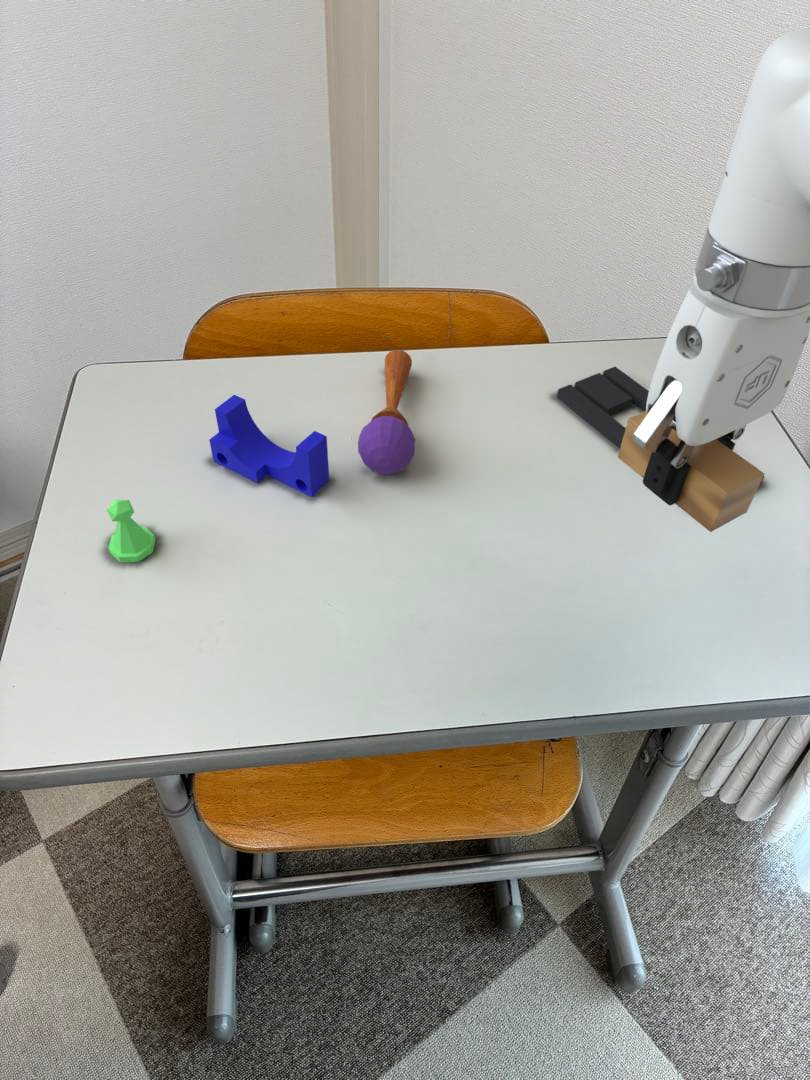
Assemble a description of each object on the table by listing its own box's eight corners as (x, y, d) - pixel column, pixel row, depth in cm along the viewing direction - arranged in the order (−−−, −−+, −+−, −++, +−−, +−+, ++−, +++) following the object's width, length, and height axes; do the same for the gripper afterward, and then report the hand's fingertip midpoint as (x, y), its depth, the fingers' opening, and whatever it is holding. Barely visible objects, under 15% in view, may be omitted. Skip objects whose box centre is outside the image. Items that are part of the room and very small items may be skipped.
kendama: (428, 346, 94) (419, 445, 79) (416, 388, 98) (406, 490, 83) (378, 334, 93) (360, 432, 78) (369, 377, 97) (350, 478, 82)
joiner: (746, 512, 61) (765, 473, 58) (710, 532, 59) (727, 493, 56) (652, 440, 67) (664, 401, 64) (617, 457, 65) (628, 418, 62)
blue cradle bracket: (213, 461, 85) (204, 416, 81) (241, 439, 88) (234, 394, 83) (302, 505, 81) (298, 461, 76) (329, 480, 83) (326, 436, 79)
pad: (678, 423, 91) (681, 414, 90) (620, 449, 88) (622, 441, 87) (613, 374, 98) (615, 366, 97) (556, 397, 94) (558, 388, 93)
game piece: (161, 554, 76) (147, 510, 71) (115, 569, 74) (98, 524, 70) (150, 525, 78) (136, 480, 74) (105, 538, 77) (89, 493, 73)
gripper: (714, 332, 44) (637, 554, 57) (895, 257, 51) (788, 472, 64) (619, 274, 48) (568, 493, 62) (798, 212, 55) (717, 422, 68)
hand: (681, 481), depth 63 cm, fingers closed on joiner, 4 cm apart
